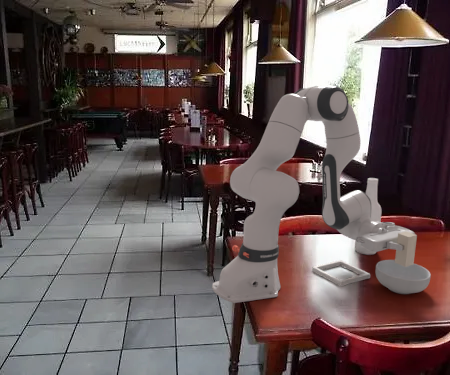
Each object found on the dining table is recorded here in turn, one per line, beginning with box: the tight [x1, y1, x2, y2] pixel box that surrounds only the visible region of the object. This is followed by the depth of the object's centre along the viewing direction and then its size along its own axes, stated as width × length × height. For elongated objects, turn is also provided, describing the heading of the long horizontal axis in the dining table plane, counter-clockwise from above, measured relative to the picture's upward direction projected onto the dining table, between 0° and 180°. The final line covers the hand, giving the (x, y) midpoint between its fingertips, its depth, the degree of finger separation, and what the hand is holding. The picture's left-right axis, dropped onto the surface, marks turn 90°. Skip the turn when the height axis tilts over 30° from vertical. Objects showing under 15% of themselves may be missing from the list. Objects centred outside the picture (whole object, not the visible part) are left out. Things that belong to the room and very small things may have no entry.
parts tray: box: [311, 259, 371, 287], centre depth 153 cm, size 14×14×2 cm
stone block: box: [394, 232, 418, 267], centre depth 140 cm, size 4×4×10 cm
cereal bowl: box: [374, 259, 432, 295], centre depth 143 cm, size 17×17×7 cm
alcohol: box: [354, 177, 383, 256], centre depth 173 cm, size 9×9×30 cm
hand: (408, 246), depth 139 cm, fingers closed on stone block, 4 cm apart
